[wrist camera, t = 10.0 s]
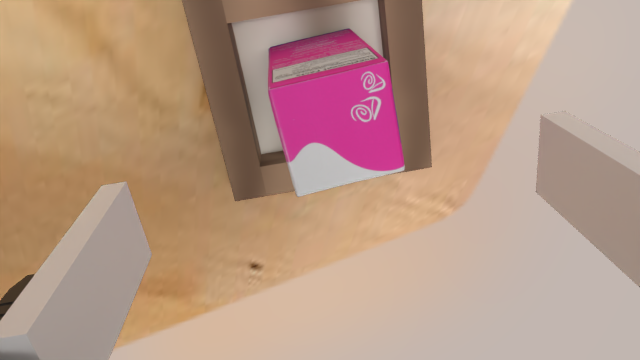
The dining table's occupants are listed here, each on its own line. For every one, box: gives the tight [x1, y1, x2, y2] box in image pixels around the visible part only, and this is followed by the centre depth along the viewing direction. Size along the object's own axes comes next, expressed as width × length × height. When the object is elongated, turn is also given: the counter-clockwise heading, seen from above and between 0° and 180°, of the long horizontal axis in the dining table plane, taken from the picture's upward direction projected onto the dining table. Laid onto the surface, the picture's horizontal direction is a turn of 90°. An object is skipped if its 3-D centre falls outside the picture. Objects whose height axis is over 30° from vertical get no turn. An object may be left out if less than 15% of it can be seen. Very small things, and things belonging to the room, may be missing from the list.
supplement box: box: [268, 29, 405, 197], centre depth 28 cm, size 6×6×12 cm
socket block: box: [182, 0, 432, 201], centre depth 32 cm, size 14×14×3 cm
